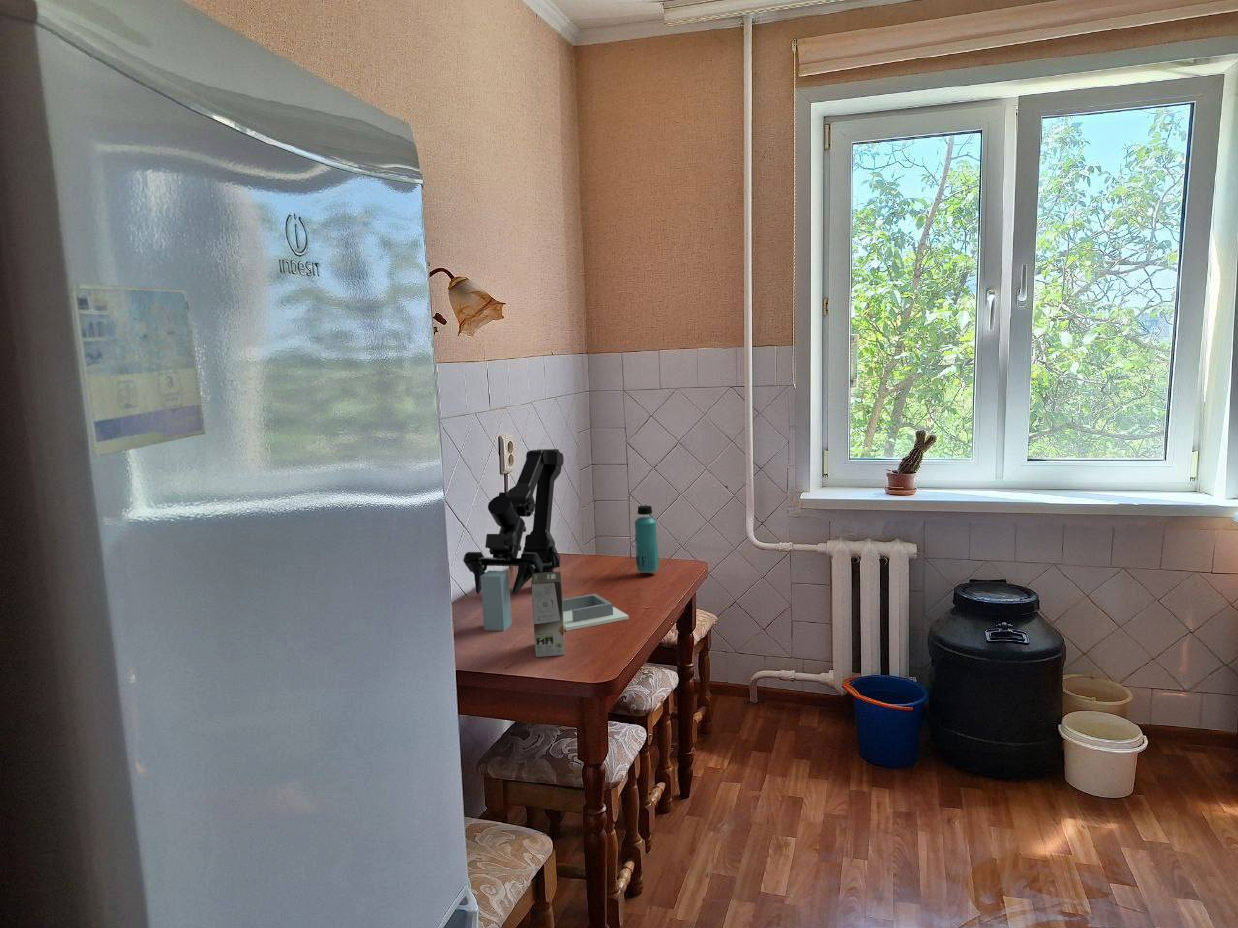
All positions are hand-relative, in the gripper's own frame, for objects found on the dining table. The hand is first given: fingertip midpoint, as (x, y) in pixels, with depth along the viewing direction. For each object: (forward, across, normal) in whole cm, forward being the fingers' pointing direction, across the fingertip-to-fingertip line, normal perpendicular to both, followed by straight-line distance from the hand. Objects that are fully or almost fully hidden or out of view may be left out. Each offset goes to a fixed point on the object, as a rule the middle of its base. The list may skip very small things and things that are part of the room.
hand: (495, 593), depth 195 cm
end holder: (-2, +19, +13) cm, 23 cm away
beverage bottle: (-29, +26, +40) cm, 56 cm away
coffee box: (+15, +18, -3) cm, 23 cm away
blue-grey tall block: (+6, 0, +6) cm, 8 cm away
